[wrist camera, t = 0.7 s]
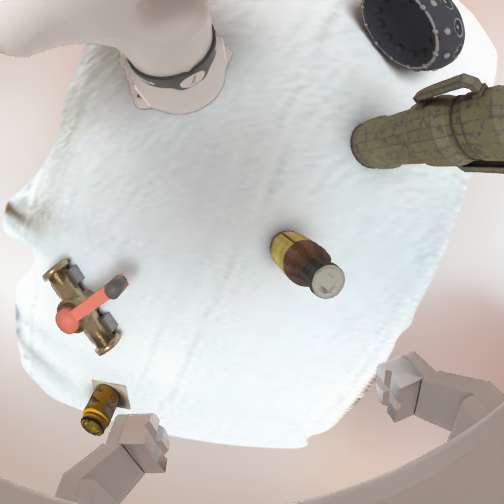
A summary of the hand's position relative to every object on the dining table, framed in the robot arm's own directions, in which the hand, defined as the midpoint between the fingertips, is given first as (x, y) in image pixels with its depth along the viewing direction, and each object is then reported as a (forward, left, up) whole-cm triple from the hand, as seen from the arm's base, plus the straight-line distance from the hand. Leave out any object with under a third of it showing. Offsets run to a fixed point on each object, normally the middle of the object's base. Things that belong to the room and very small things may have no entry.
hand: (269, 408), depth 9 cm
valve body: (-3, -32, -41) cm, 52 cm away
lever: (-3, -26, -34) cm, 42 cm away
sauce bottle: (+8, +6, -41) cm, 42 cm away
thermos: (0, +29, -41) cm, 50 cm away
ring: (-18, +47, -41) cm, 65 cm away
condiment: (+17, -44, -41) cm, 62 cm away
